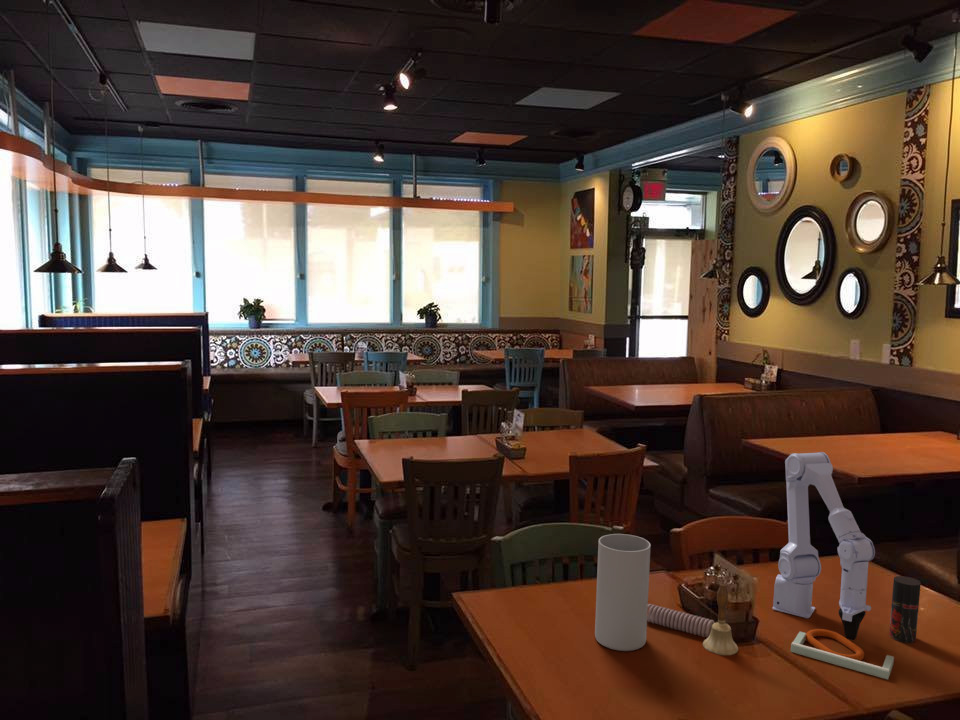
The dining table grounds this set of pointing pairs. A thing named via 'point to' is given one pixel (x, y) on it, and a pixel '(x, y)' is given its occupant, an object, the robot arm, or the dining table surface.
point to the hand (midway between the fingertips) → (850, 638)
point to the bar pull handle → (841, 658)
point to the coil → (679, 620)
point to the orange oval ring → (836, 636)
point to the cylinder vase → (622, 591)
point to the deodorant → (904, 609)
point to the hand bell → (721, 629)
